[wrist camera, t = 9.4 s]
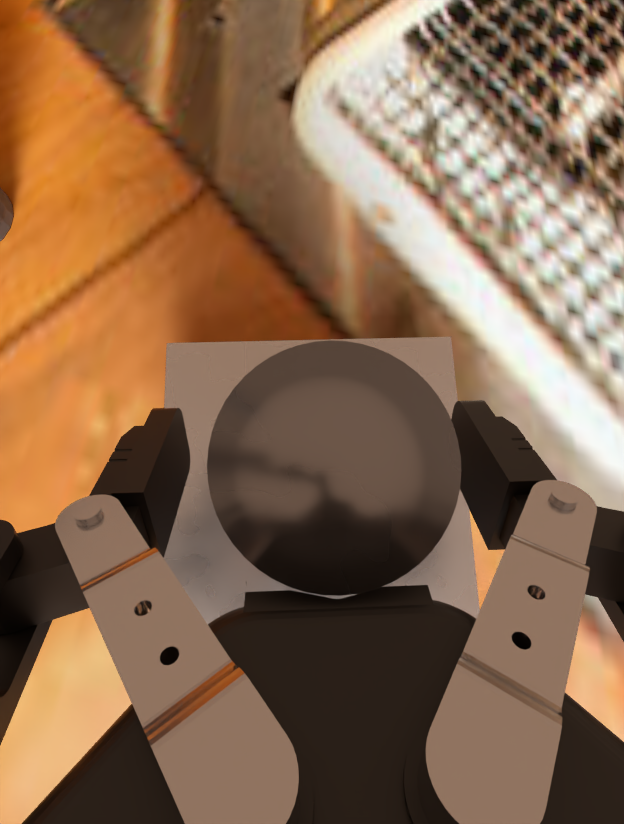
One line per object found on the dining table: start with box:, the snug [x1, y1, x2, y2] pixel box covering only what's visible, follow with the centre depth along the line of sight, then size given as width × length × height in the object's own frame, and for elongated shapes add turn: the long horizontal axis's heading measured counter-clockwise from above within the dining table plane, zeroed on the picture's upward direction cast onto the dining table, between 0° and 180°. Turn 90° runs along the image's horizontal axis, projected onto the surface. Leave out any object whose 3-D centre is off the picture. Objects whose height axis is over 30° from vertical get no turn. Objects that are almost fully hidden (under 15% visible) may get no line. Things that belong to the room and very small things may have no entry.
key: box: [207, 340, 461, 596], centre depth 15 cm, size 4×4×14 cm
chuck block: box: [164, 337, 480, 624], centre depth 19 cm, size 12×12×4 cm
